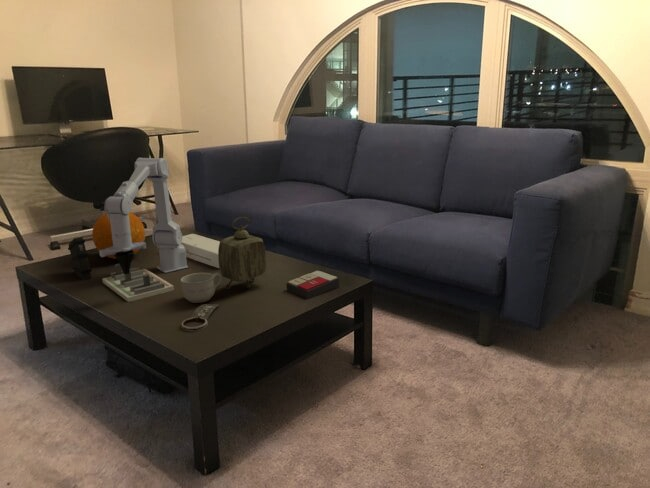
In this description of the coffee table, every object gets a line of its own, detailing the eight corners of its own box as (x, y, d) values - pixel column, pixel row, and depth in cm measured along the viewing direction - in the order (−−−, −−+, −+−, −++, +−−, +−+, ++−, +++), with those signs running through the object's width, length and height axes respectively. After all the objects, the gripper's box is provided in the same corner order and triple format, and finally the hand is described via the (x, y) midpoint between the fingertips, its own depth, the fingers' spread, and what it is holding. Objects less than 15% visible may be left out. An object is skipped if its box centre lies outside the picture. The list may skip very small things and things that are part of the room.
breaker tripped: (149, 287, 187) (147, 274, 185) (151, 288, 186) (149, 275, 184) (143, 288, 185) (142, 275, 184) (145, 290, 184) (144, 276, 183)
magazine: (83, 278, 196) (73, 238, 197) (76, 284, 207) (66, 246, 207) (94, 276, 198) (83, 236, 199) (86, 282, 209) (76, 244, 210)
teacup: (187, 308, 173) (184, 284, 171) (179, 297, 182) (176, 274, 180) (229, 300, 179) (227, 277, 177) (219, 289, 189) (218, 267, 186)
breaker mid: (130, 282, 191) (129, 269, 190) (132, 283, 190) (130, 270, 189) (125, 283, 190) (123, 270, 189) (126, 285, 189) (125, 271, 188)
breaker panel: (145, 272, 206) (144, 265, 205) (173, 289, 189) (173, 281, 188) (102, 282, 196) (101, 274, 196) (128, 301, 179) (127, 293, 178)
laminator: (172, 252, 231) (170, 238, 229) (196, 246, 240) (195, 232, 238) (221, 270, 209) (220, 254, 207) (246, 262, 218) (245, 247, 216)
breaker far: (121, 275, 198) (119, 263, 197) (122, 277, 197) (121, 264, 195) (115, 277, 197) (113, 264, 195) (117, 278, 196) (115, 265, 194)
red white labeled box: (285, 281, 186) (317, 268, 196) (286, 292, 188) (318, 279, 197) (307, 289, 179) (339, 275, 188) (307, 301, 180) (339, 287, 190)
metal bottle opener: (224, 307, 175) (223, 301, 174) (202, 333, 157) (202, 327, 156) (200, 306, 176) (200, 300, 175) (176, 332, 158) (176, 325, 157)
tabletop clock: (253, 278, 199) (250, 211, 192) (269, 284, 192) (266, 215, 185) (220, 289, 189) (215, 218, 182) (235, 296, 183) (231, 223, 176)
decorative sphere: (100, 269, 211) (93, 218, 205) (92, 255, 227) (85, 208, 222) (152, 260, 220) (147, 212, 215) (141, 248, 237) (136, 202, 231)
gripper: (102, 240, 168) (108, 281, 172) (148, 231, 177) (152, 271, 181) (94, 235, 173) (100, 275, 177) (139, 227, 182) (143, 266, 186)
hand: (126, 273), depth 179 cm, fingers closed
